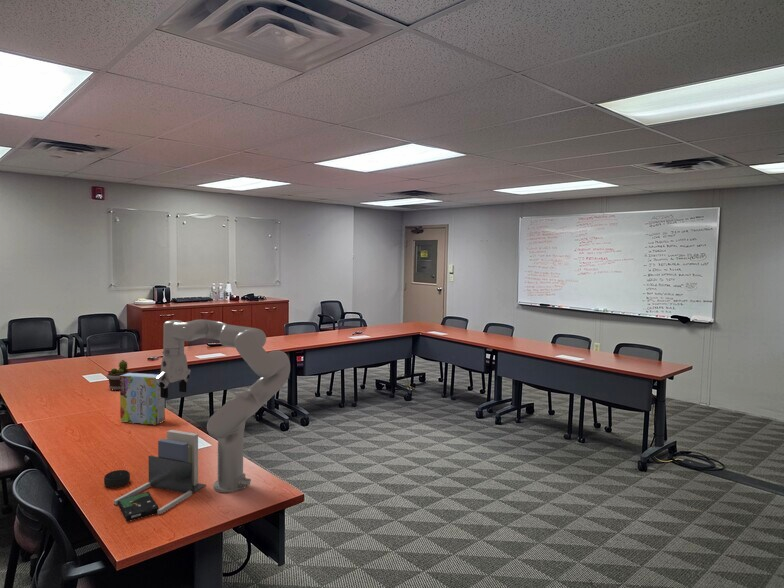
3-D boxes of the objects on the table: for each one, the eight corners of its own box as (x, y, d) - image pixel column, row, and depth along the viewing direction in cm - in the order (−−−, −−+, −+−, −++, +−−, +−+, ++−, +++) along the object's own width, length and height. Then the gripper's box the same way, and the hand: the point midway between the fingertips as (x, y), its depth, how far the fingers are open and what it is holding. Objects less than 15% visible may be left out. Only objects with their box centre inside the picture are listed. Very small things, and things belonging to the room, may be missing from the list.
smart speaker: (119, 490, 193) (119, 479, 193) (98, 487, 194) (98, 477, 194) (135, 480, 202) (134, 470, 201) (115, 478, 203) (115, 468, 203)
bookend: (206, 485, 198) (206, 455, 198) (191, 494, 190) (191, 463, 189) (164, 477, 204) (164, 448, 204) (148, 486, 196) (148, 455, 196)
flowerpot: (118, 393, 326) (118, 362, 325) (101, 390, 332) (100, 360, 330) (137, 388, 340) (137, 358, 339) (120, 385, 345) (120, 356, 344)
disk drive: (159, 514, 176) (148, 498, 188) (159, 506, 176) (148, 490, 188) (126, 523, 170) (117, 506, 181) (126, 515, 170) (117, 498, 181)
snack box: (166, 421, 274) (166, 374, 272) (155, 426, 265) (155, 377, 264) (130, 418, 278) (129, 371, 276) (119, 422, 269) (118, 375, 267)
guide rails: (191, 494, 190) (191, 490, 190) (160, 514, 175) (160, 510, 175) (148, 485, 197) (148, 482, 196) (113, 504, 181) (113, 500, 181)
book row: (198, 483, 199) (198, 433, 198) (184, 491, 192) (184, 440, 191) (171, 478, 203) (171, 429, 202) (157, 486, 196) (157, 435, 195)
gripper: (164, 356, 189) (164, 401, 190) (197, 349, 205) (196, 390, 206) (148, 354, 192) (148, 398, 193) (182, 347, 208) (182, 388, 209)
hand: (173, 394), depth 200 cm, fingers open, 9 cm apart
